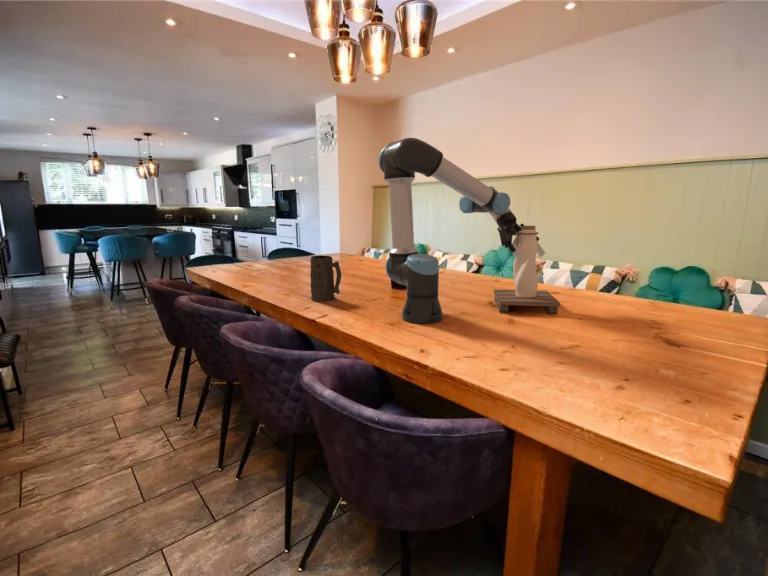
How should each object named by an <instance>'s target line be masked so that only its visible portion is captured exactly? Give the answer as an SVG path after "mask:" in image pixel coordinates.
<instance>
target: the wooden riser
mask: <svg viewBox="0 0 768 576" xmlns="http://www.w3.org/2000/svg"><path fill="white" fill-rule="evenodd" d="M493 295H494V302H495V306H496V307H497V309H498V311H499V313H500V314H509V306H525V307H526V306H528V307H529V306H530V307H531V306H532V307H535V306H536V307H541V308H542V309H543V310H544V311H545V312H546V314H547V315H550V316H552V315H553V316H554V315H556V316H557V315H558V307H561V302H560V301H559V300H558V299H557V298H556V297H555V296H553V295H552V294H551V292H549V291H548V290H546V289H545V290H543V289H542V290H541V289H537V292H536V296H535V297H519V296H516V290H515V289H500V288H499V289H498V288H497V289H496V288H494V289H493Z"/></svg>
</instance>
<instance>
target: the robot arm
mask: <svg viewBox="0 0 768 576" xmlns="http://www.w3.org/2000/svg"><path fill="white" fill-rule="evenodd" d="M378 155H379V156H378V166H379V169H380V171H382V173H383V176H384V177H383V178H384V180H383V181H384V182H386V183H387V185H388V191H389V193H388V195H389V209H390V224H391V225H390V226H391V227H390V230H391V244H392V245H391V246H392V247H391V248H390V250H389V251H388V254H389V255H388V259H387V260H386V262H385V273H386V275H387V276H388V278H389V279H390V280H391V281H393V282H394V283H396V284H399V285H401V286H402V285H403V286H405V287H406V300H405V302H404V305H403V309H402V312H401V319H402V320H404V321H406V322H409V323H414V324H433V323H437V322H441V321H443V317H444V316H443V315H444V314H443V309H442V306H441V303H440V299H439V278H440V275H439V274H440V265H439V260H438V258H437V257H436V256H434V255H429V254H425V253H419V249H418V248H417V247H416V246H415V238H414V237H415V236H414V234H415V233H414V213H413V212H414V211H413V209H414V208H413V193H412V192H413V190H412V183H413V182H414V180H415V179H416V173H417V174H420V175H422V176H425V177H427V178H431V177H432V178H434V179H435V180H437V181H438V182H441V183H442V184H444V186H445V185H446V186H447V187H449V188H450V189H452V190H454V191H455V192H456V193H458V194H460V195H462V196H461V197H460V199H459V203H458V204H459V206H458V207H459V209H460V211H461V213H462V214H473V213H488V214H490V216H491V217H492V219H493V220H494V221H495V223H496V225H497V226H498V227H497V228H496V229H497V231H498V233H499V238H500V239H499V240H500V243H501V246H503V248H505V249H507V248H508V250H509V251H510V252H511V254H512V255H513V256H514V259H515V258H516V259H517V260H519V259H520V258H521V257H522V256H523V255H522V254H521V252H520V251H519V249H518V248H517V246H516V245H515V244H514V243H513V236H516V232H517V233H521V230H522V226H526V225H525V224H524V223H521V224H518V223H517V217H516V215H515V214H514V213H513V212H512V210H511V208H510V206H511V197H510V196H509V194H508V193H506V192H502V191H500V192H499V191H498V190H497V189H495V187H493V186H488V185H486V184H485V183H483V182H482V181H480V179H477V178H476V177H474V176H473V175H471V174H470V173H468V172H467V171H465V170H464V169H462V168H461V167H459V166H458V165H456V164H454V163H453V162H451V161H450V160H449V159H447V158H446V157H444V153H443V152H441V151H440V150H439V149H437V148H436V147H434V146H433V145H431V144H429V143H428V142H426V141H423V140H421V139H420V138H416V137H406V138H402V139H400V140H396V141H392V142H390V143H388V144H386V146H384V147H383V148H382V149H381V151H380V153H379V154H378ZM536 239H537V252H536V255H537V256H538V257H539V258H543V256H544V255H546V251H545V250H544V249H543V248H542V246H541V245H540V243H539V241H540V237H539V236H537V235H536Z"/></svg>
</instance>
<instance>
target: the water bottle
mask: <svg viewBox="0 0 768 576" xmlns="http://www.w3.org/2000/svg"><path fill="white" fill-rule="evenodd" d="M520 232H521V233H520ZM520 232H519V233H517V232H516V235H515V238H514V240H513V241H512V243H514V244H515V245H516V246H517V248H518V249H519V251H520V252H521V254H522V255H523V256H522V257H521V258H520V259H519V260H517V259H516V258H515V257H514V260H513V264H512V267H513V268H512V273H513V281H514V285H515V286H514V287H515V289H514V290H516V296H519V297H535V296H536V292H537V290H538V286H539V285H538V283H539V282H538V276H537V271H536V270H537V269H536V265H537V262H536V261H537V260H536V259H537V253H536V252H537V239H536V236H537V235H539V232H538V231H537V229H536V225H525V226H522V230H521V231H520Z"/></svg>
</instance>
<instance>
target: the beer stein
mask: <svg viewBox="0 0 768 576" xmlns="http://www.w3.org/2000/svg"><path fill="white" fill-rule="evenodd" d="M309 262H310V294H311V297H310V300H311V301H313V302H318V301H324V302H329V300H330V301H333V300H335V298H336V297H335V295H340V294H341V293H340V292H341V291H340V289H339V287H340V284H341V281H342V280H341V279H342V271H341V267H340V262H339V261H334V262H333V257H332V256H331V255H330V256H329V255H313V256H310V260H309ZM333 268H335V272H336V279H335V277H334V269H333Z"/></svg>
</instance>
